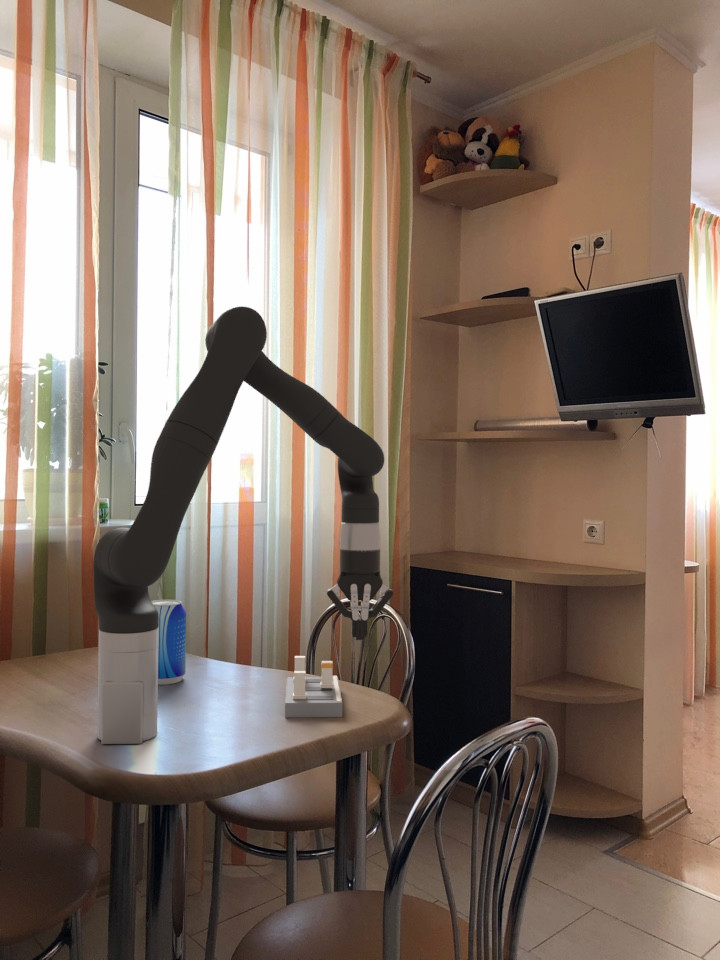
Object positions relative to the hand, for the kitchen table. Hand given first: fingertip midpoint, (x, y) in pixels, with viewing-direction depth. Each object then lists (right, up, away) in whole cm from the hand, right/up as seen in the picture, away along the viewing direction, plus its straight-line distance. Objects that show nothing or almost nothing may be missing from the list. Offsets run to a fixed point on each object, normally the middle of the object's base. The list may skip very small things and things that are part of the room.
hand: (359, 639), depth 151 cm
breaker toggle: (-6, -9, -1) cm, 11 cm away
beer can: (-40, -11, +14) cm, 44 cm away
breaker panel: (-9, -12, -1) cm, 15 cm away
